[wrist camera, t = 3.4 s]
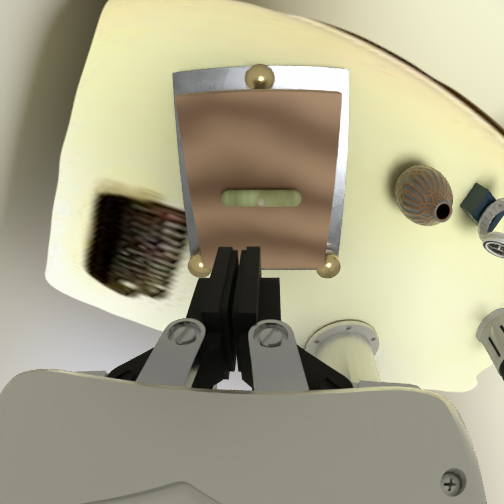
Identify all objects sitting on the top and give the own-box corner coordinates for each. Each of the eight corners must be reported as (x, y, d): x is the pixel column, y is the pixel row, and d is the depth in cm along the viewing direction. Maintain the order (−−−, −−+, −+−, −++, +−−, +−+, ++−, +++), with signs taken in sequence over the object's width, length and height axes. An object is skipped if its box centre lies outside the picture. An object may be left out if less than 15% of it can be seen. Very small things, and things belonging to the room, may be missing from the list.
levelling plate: (321, 259, 37) (324, 279, 34) (206, 258, 38) (201, 278, 35) (338, 90, 24) (347, 98, 21) (180, 93, 24) (169, 102, 22)
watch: (451, 216, 36) (493, 256, 27) (482, 173, 33) (530, 203, 23) (471, 235, 37) (510, 276, 28) (500, 195, 34) (545, 228, 24)
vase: (407, 148, 33) (440, 167, 25) (442, 178, 34) (478, 203, 26) (378, 193, 36) (403, 222, 28) (415, 219, 37) (443, 251, 29)
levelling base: (334, 263, 41) (341, 287, 36) (195, 263, 42) (186, 286, 38) (345, 70, 29) (358, 67, 24) (176, 73, 30) (160, 71, 25)
